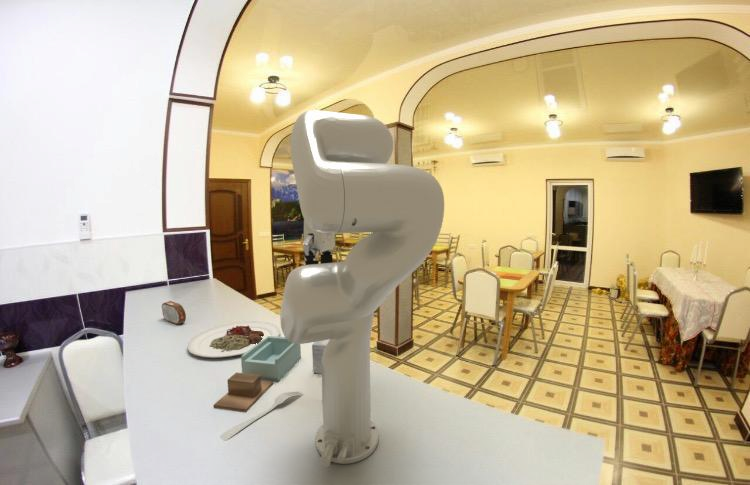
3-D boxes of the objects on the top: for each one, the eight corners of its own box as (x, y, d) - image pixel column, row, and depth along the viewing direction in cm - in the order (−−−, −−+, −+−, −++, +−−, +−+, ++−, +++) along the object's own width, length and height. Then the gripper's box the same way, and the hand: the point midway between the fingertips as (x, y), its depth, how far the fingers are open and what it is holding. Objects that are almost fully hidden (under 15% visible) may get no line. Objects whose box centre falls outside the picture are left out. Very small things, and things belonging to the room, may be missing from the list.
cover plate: (246, 414, 72) (244, 393, 72) (213, 409, 74) (212, 388, 74) (273, 385, 84) (272, 367, 83) (244, 382, 86) (243, 364, 85)
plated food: (199, 372, 91) (199, 361, 90) (179, 340, 113) (178, 331, 113) (294, 342, 111) (294, 333, 110) (261, 320, 133) (261, 312, 132)
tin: (187, 324, 129) (185, 304, 128) (179, 326, 126) (177, 306, 125) (169, 318, 137) (167, 299, 136) (161, 320, 134) (159, 301, 133)
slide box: (278, 382, 85) (277, 359, 84) (242, 378, 87) (241, 356, 86) (300, 357, 98) (300, 338, 98) (269, 354, 101) (268, 335, 100)
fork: (219, 448, 65) (216, 436, 65) (299, 391, 81) (298, 381, 80) (225, 454, 63) (223, 442, 63) (306, 395, 79) (305, 385, 79)
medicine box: (327, 374, 88) (326, 345, 87) (312, 373, 89) (311, 344, 88) (336, 361, 96) (335, 334, 95) (322, 360, 97) (321, 333, 96)
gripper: (319, 204, 69) (321, 281, 71) (342, 205, 86) (344, 267, 88) (287, 205, 70) (290, 279, 72) (317, 205, 87) (319, 266, 89)
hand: (320, 272), depth 80 cm, fingers open, 9 cm apart
